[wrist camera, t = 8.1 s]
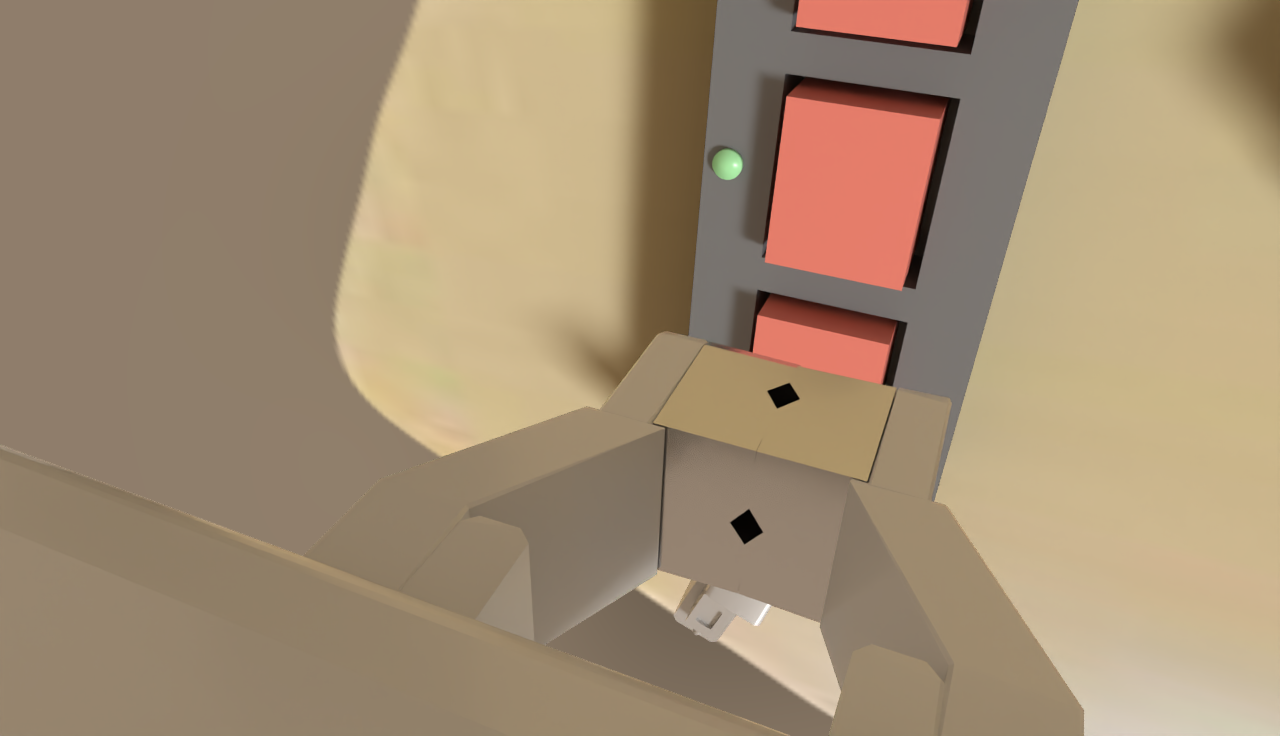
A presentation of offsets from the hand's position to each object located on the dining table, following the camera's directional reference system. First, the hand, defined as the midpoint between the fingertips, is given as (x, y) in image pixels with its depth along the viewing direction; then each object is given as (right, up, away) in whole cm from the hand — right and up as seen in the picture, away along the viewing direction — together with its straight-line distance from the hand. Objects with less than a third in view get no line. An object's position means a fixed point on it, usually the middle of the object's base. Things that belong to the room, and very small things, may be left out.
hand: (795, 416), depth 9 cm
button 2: (+5, +6, +15) cm, 17 cm away
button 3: (+4, +1, +18) cm, 19 cm away
